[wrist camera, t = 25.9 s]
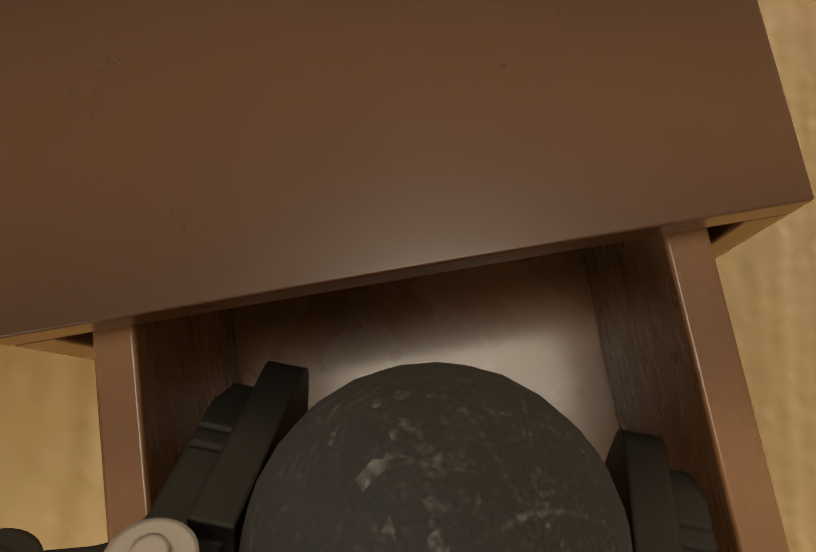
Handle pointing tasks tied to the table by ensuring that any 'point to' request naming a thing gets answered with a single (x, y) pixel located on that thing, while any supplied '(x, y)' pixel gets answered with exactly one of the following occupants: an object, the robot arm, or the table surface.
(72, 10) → the cabinet
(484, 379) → the light bulb
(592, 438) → the drawer
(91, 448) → the table surface
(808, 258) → the table surface
